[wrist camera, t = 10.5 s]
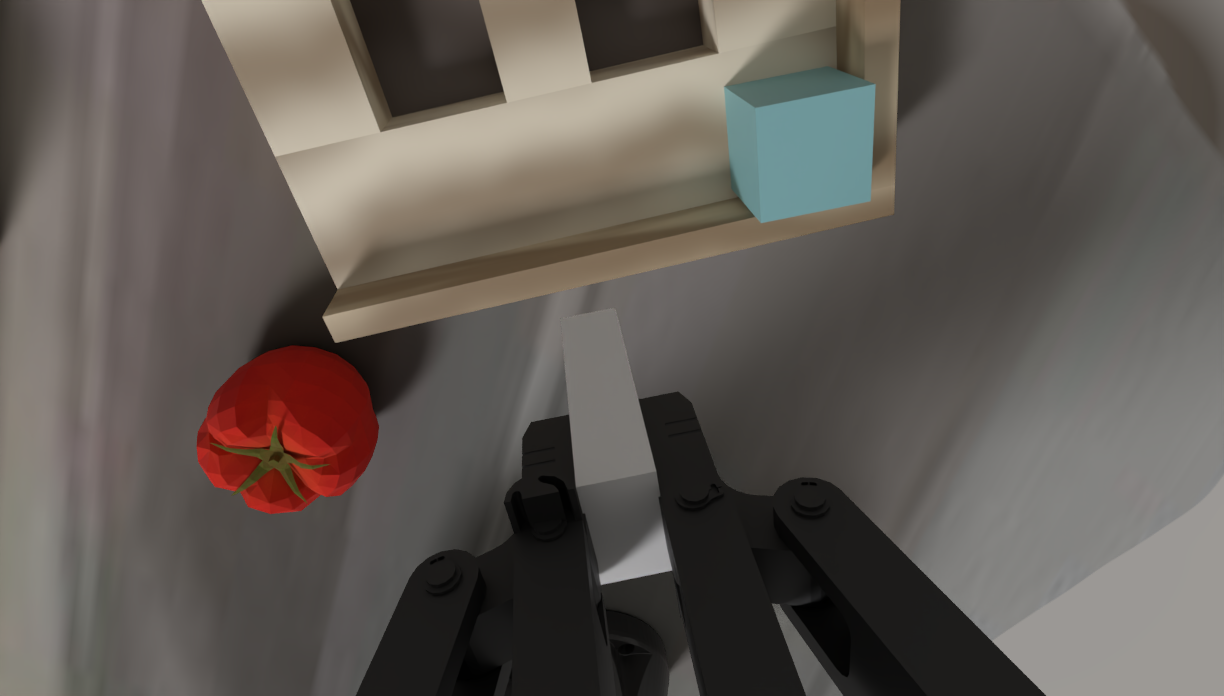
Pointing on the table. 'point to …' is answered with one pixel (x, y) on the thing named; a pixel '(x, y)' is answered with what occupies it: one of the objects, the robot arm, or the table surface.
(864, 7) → the board
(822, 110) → the teal block
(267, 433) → the tomato
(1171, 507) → the table surface
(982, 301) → the table surface
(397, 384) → the table surface
